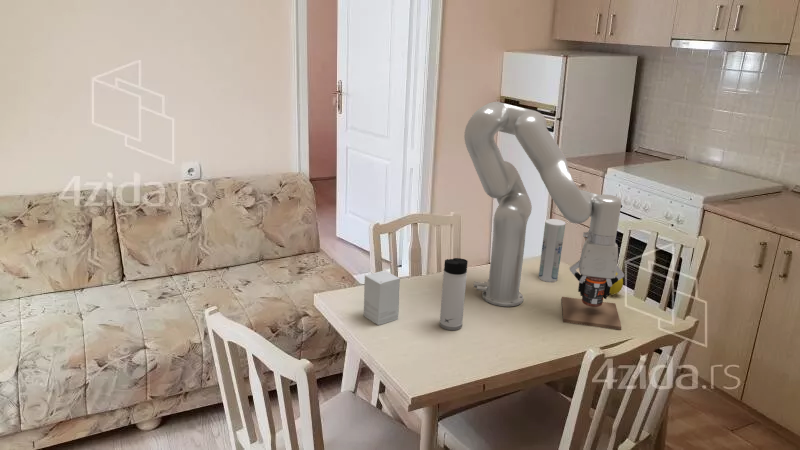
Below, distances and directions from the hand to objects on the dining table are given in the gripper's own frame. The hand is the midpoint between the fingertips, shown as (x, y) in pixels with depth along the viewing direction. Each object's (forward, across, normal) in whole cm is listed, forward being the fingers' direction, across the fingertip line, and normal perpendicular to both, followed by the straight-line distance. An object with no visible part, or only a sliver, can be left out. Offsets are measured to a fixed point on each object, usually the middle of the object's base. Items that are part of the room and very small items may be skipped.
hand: (593, 295), depth 188 cm
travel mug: (+6, -39, -20) cm, 44 cm away
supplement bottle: (+3, 0, 0) cm, 3 cm away
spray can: (+6, -12, +24) cm, 28 cm away
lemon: (+6, +8, +17) cm, 20 cm away
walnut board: (+6, 0, 0) cm, 6 cm away
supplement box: (+6, -59, -21) cm, 63 cm away
